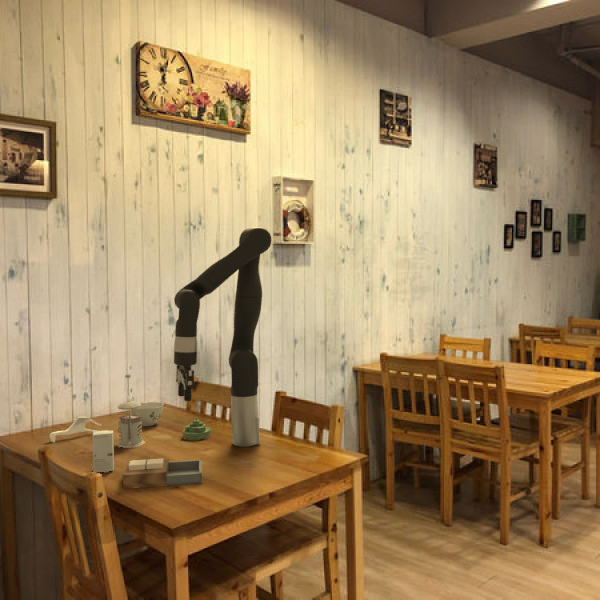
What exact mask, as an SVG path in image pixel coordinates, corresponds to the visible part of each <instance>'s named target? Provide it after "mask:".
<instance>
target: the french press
mask: <svg viewBox="0 0 600 600" xmlns="http://www.w3.org/2000/svg"><path fill="white" fill-rule="evenodd" d="M131 377H132V376H131V374H130V373H126V374H125V376H124V378H126V379H127V389H128V392H127V393H128V395H130V385H129V384H130V383H129V378H131ZM140 403H141V402H137V401H135V400H127V401H123V402H121V403H119V404H118V405H117V409H118V410H123V411H125V410H128V411H129V412H128V413H129V414H127V412H125V413H124V415H121V416H120V417H118V418H119V421H118V426H119V427H118V433H119V434H118V436H119V438H118V440H119V442H118V443H117V444H116V447H117V446H118V447H117V448H120V447H123V448H122V449H132V448H138V447H141V445H142V446H144V445H145V444H146V441H144V440H143V436H142V435H143V433H142V432H143V429H142V427H143V426H141V424H142V422H141V419H138V418H140V416H139V415H135V414H134V415H132V411H131V409H135V408H138V407H140V406H141V404H140ZM144 443H145V444H144ZM143 444H144V445H143Z"/></svg>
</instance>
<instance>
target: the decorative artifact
mask: <svg viewBox="0 0 600 600" xmlns="http://www.w3.org/2000/svg"><path fill="white" fill-rule="evenodd" d="M211 431H212V429H211V428H210V426H206V424H205V423H204V421H203V422H202V421H201V420H200V419H198V418H197V417H195V420H192V422H191V423H189V424H188V425H185V426H184V429H183V430H182V438H183V439H184V438H185V439H184V440H186V439H189V440H188V441H201V440H200V439H203V440H206V438H207V439H209V438H210V437H211V436H212V434H211V433H212V432H211ZM208 437H209V438H208Z"/></svg>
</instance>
